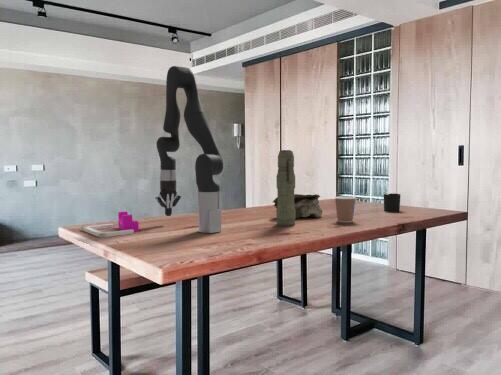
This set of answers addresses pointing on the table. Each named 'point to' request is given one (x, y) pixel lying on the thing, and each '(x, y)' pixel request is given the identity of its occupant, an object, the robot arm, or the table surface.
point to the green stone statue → (285, 189)
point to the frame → (107, 234)
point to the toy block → (127, 222)
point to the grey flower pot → (345, 208)
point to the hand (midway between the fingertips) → (168, 215)
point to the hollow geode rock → (305, 205)
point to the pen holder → (392, 202)
